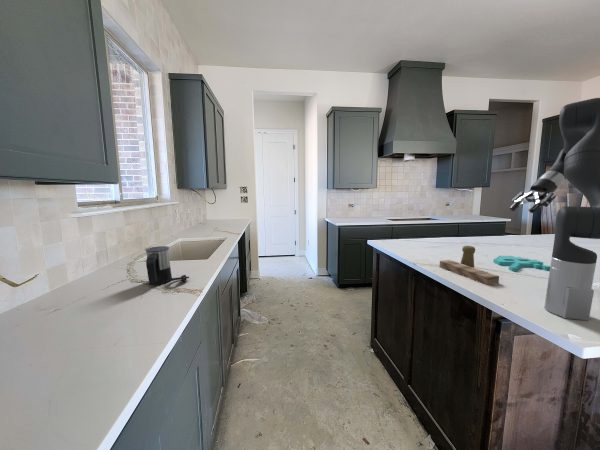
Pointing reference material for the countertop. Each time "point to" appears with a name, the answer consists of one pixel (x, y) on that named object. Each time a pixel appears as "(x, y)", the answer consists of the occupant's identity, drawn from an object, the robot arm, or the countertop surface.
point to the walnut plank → (470, 272)
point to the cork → (468, 256)
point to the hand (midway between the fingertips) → (520, 210)
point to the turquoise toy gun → (519, 263)
